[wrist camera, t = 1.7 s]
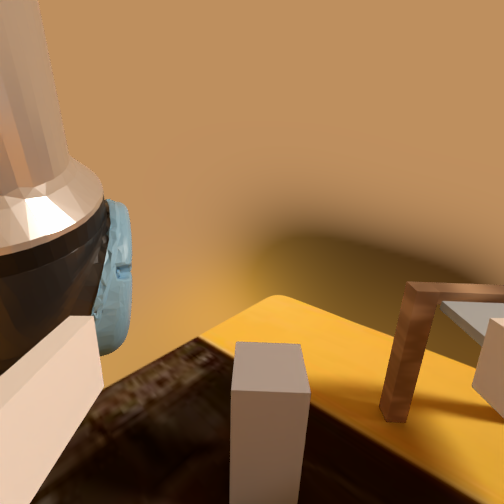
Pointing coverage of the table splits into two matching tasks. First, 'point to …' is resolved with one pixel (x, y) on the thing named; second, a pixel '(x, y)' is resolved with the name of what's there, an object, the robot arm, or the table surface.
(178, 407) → the table surface
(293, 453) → the granite block
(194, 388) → the table surface
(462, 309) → the flap
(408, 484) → the table surface
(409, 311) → the trapdoor frame
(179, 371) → the table surface
